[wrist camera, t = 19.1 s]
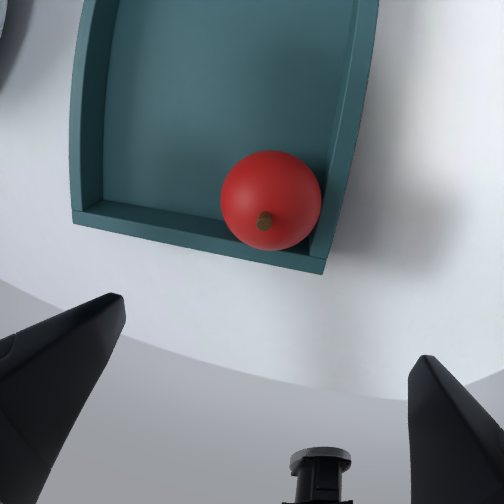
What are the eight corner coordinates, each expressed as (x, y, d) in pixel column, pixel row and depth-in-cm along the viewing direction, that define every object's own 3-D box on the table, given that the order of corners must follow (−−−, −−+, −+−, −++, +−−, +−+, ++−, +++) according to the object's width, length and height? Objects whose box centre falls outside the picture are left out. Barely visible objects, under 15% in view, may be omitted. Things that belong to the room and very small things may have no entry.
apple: (308, 234, 19) (310, 288, 14) (227, 219, 19) (199, 265, 14) (326, 153, 16) (339, 177, 11) (238, 137, 17) (208, 154, 12)
